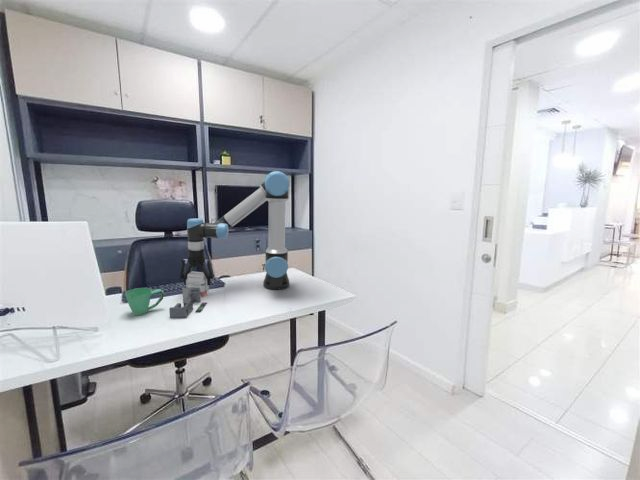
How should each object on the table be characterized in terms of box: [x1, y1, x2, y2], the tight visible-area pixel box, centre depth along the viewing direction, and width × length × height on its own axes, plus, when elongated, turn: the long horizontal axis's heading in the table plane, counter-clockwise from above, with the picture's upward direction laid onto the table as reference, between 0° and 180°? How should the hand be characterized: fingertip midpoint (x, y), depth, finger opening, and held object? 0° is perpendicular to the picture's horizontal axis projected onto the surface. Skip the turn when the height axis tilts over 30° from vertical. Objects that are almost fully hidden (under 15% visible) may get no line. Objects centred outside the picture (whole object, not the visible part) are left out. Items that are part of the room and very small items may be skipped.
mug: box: [125, 287, 165, 316], centre depth 132 cm, size 15×10×10 cm
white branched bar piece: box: [181, 286, 206, 307], centre depth 142 cm, size 11×8×7 cm
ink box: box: [187, 271, 208, 298], centre depth 154 cm, size 9×5×12 cm, turn 84°
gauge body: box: [169, 301, 208, 319], centre depth 136 cm, size 11×17×4 cm
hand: (197, 291), depth 155 cm, fingers closed on ink box, 9 cm apart
